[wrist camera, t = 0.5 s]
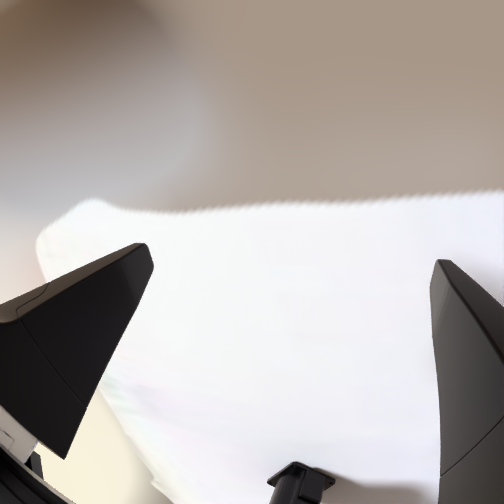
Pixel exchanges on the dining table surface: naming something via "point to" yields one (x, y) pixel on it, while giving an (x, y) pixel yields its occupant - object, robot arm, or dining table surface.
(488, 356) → the robot arm
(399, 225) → the dining table surface
